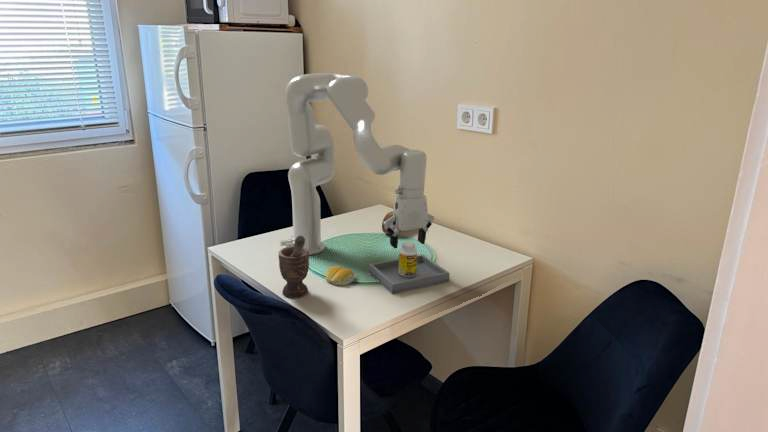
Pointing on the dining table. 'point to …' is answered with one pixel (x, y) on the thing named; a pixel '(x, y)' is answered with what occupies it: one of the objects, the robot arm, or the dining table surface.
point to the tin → (385, 220)
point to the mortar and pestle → (294, 268)
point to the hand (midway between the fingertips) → (407, 244)
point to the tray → (396, 283)
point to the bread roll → (339, 275)
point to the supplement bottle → (407, 259)
